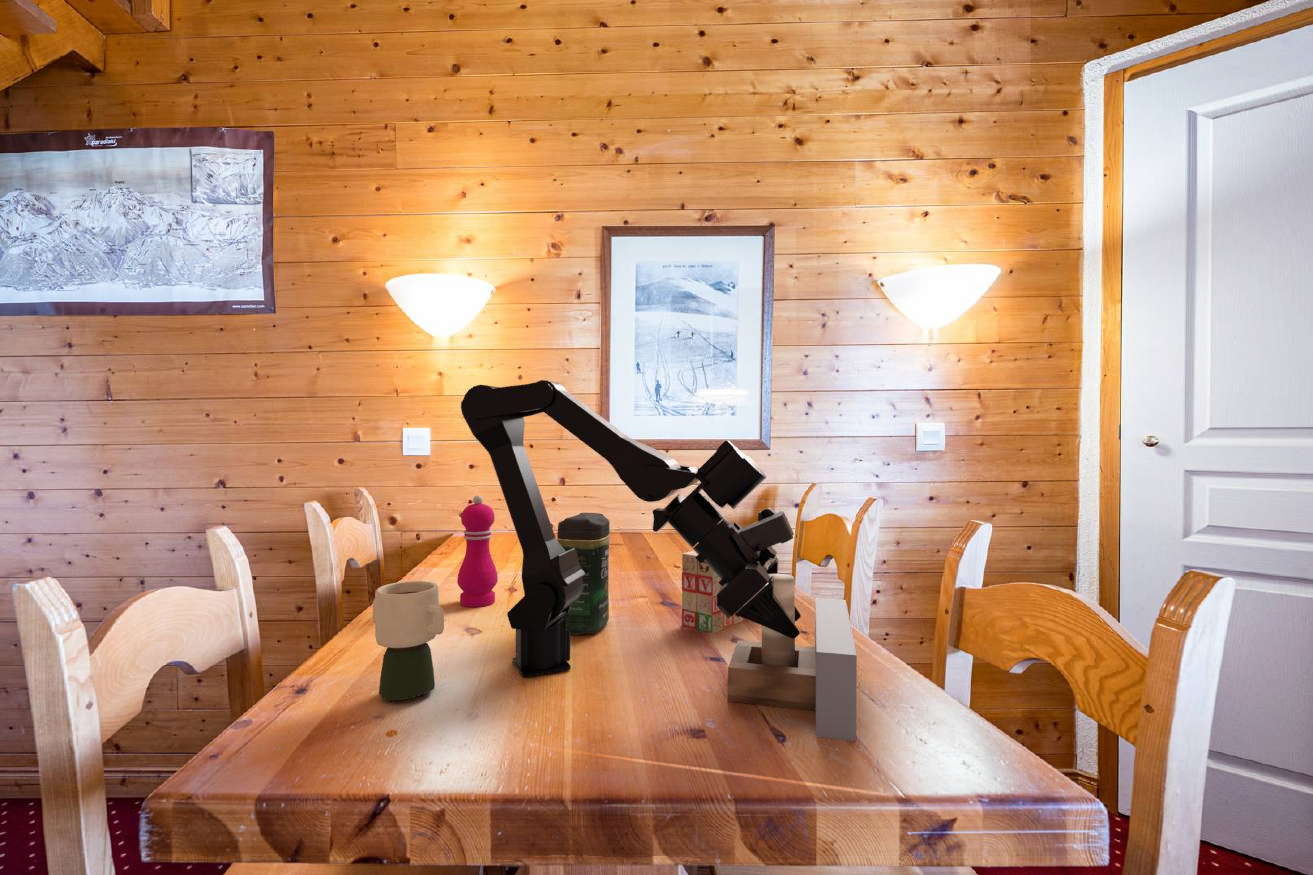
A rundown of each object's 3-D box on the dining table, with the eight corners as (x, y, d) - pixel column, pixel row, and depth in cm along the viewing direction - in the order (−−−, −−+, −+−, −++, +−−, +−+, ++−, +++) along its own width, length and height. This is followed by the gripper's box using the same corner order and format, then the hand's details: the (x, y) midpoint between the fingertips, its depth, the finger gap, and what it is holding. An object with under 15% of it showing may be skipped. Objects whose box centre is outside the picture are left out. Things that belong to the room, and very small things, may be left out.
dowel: (789, 691, 74) (788, 583, 74) (757, 685, 76) (756, 579, 76) (799, 679, 78) (798, 575, 77) (768, 673, 80) (767, 572, 79)
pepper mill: (482, 595, 121) (482, 492, 121) (505, 602, 117) (506, 495, 117) (449, 603, 116) (449, 495, 116) (472, 610, 111) (472, 498, 111)
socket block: (727, 701, 74) (728, 667, 73) (737, 670, 83) (737, 640, 83) (815, 710, 71) (815, 675, 71) (815, 677, 81) (815, 646, 81)
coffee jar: (598, 638, 97) (598, 518, 96) (549, 634, 98) (550, 516, 98) (614, 619, 106) (615, 510, 106) (570, 616, 108) (570, 509, 107)
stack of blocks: (748, 600, 119) (749, 536, 119) (778, 606, 115) (778, 539, 115) (680, 626, 103) (681, 552, 103) (712, 634, 99) (713, 557, 99)
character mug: (463, 691, 76) (463, 585, 76) (419, 715, 70) (419, 599, 70) (396, 676, 81) (396, 576, 81) (349, 698, 74) (349, 589, 74)
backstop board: (815, 737, 65) (816, 651, 65) (815, 662, 87) (815, 597, 87) (856, 742, 64) (856, 655, 64) (845, 665, 86) (845, 599, 86)
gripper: (747, 496, 69) (851, 604, 66) (760, 483, 87) (843, 567, 84) (676, 564, 70) (775, 671, 68) (704, 537, 89) (782, 621, 86)
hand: (797, 627), depth 76 cm, fingers open, 7 cm apart
